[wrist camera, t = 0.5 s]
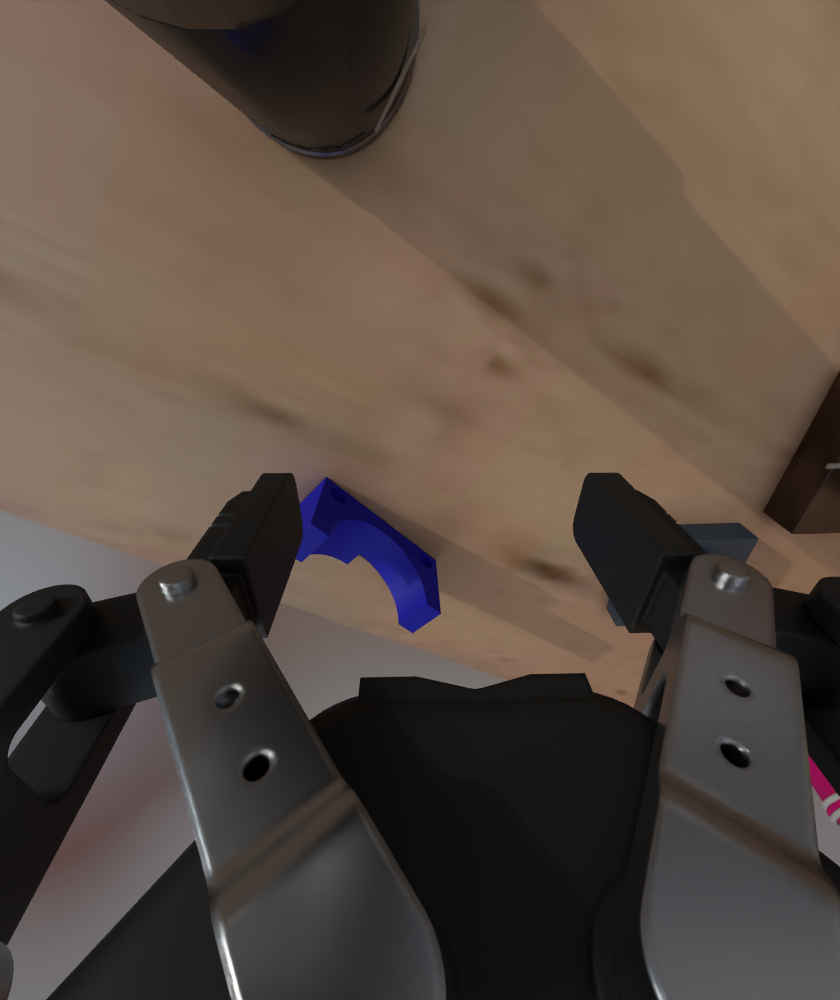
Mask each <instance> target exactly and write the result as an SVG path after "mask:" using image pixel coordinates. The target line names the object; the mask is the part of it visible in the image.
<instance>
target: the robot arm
mask: <svg viewBox="0 0 840 1000" xmlns="http://www.w3.org/2000/svg"><path fill="white" fill-rule="evenodd" d="M105 1H106V2H107V3H108V4H110V5H111V6H112V7H113V8H115V9H116V10H117V11H118V12H120V13H121V14H122V15H123V16H124V17H126V18H127V19H128V20H129V21H131V22H132V23H133V24H134V25H135V26H137V27H138V28H139V29H140V30H142V31H143V32H144V33H145V34H147V35H148V36H149V37H150V38H151V39H153V40H154V41H155V42H156V43H158V44H159V45H160V46H161V47H163V48H164V49H165V50H166V51H167V52H169V53H170V54H171V55H172V56H174V57H175V58H176V59H177V60H179V61H180V62H181V63H182V64H183V65H185V66H186V67H187V68H188V69H190V70H191V71H192V72H193V73H195V74H196V75H197V76H198V77H199V78H201V79H202V80H203V81H204V82H206V83H207V84H208V85H209V86H211V87H212V88H213V89H214V90H215V91H217V92H218V93H219V94H220V95H222V96H223V97H224V98H225V99H227V100H228V101H229V102H230V103H231V104H233V105H234V106H235V107H236V108H238V109H239V110H240V111H241V112H242V113H244V114H245V115H246V116H247V117H248V118H249V119H250V120H251V121H252V122H253V123H254V124H255V125H256V126H257V127H258V128H259V129H260V130H261V131H262V132H264V133H265V134H266V135H267V136H269V137H270V138H271V139H273V140H274V141H275V142H277V143H278V144H280V145H281V146H283V147H285V148H287V149H288V150H290V151H293V152H295V153H297V154H300V155H303V156H307V157H311V158H317V159H336V158H341V157H345V156H348V155H351V154H354V153H356V152H358V151H360V150H362V149H363V148H365V147H367V146H368V145H370V144H371V143H372V142H373V141H374V140H376V139H377V138H378V137H379V136H380V135H381V134H382V133H383V132H384V131H385V129H386V128H387V127H388V126H389V124H390V123H391V122H392V120H393V118H394V117H395V115H396V114H397V112H398V110H399V108H400V106H401V104H402V102H403V100H404V98H405V95H406V93H407V90H408V87H409V84H410V81H411V78H412V74H413V69H414V65H415V59H416V53H417V50H418V47H419V45H420V43H421V41H422V39H423V37H424V35H425V32H426V23H425V26H424V28H423V30H422V32H421V34H420V36H419V38H418V33H419V0H105ZM426 22H427V21H426ZM573 533H574V538H575V541H576V543H577V544H578V546H579V548H580V550H581V551H582V553H583V555H584V556H585V558H586V560H587V562H588V563H589V565H590V567H591V568H592V570H593V572H594V573H595V575H596V577H597V579H598V580H599V582H600V584H601V585H602V587H603V589H604V591H605V592H606V594H607V596H608V597H609V599H610V601H611V602H612V604H613V606H614V608H615V609H616V611H617V613H618V614H619V616H620V618H621V620H622V621H623V623H624V625H625V626H626V628H627V630H628V631H629V633H652V635H653V636H654V640H653V642H652V644H651V646H650V649H649V652H648V656H647V660H646V663H645V667H644V671H643V675H642V678H641V682H640V686H639V690H638V693H637V697H636V701H635V705H634V708H632V707H630V706H629V705H627V704H625V703H622V702H620V701H618V700H615V699H613V698H610V697H607V696H604V695H601V694H598V693H594V692H593V691H592V689H591V686H590V684H589V682H588V679H587V677H586V675H585V673H570V674H530V675H526V676H523V677H519V678H516V679H512V680H508V681H505V682H502V683H498V684H495V685H491V686H487V687H484V688H479V689H471V688H466V687H461V686H457V685H453V684H448V683H443V682H439V681H434V680H430V679H425V678H421V677H368V678H367V677H366V678H360V687H359V696H357V697H353V698H350V699H347V700H345V701H342V702H340V703H337V704H335V705H333V706H331V707H330V708H328V709H326V710H324V711H322V712H321V713H319V714H318V715H316V716H315V717H313V718H312V719H311V720H309V719H308V717H307V716H306V714H305V712H304V710H303V709H302V707H301V705H300V704H299V702H298V700H297V698H296V697H295V695H294V693H293V691H292V689H291V688H290V686H289V684H288V682H287V681H286V679H285V677H284V675H283V674H282V672H281V670H280V669H279V667H278V665H277V663H276V662H275V660H274V658H273V656H272V655H271V653H270V651H269V649H268V648H267V646H266V644H265V643H264V641H263V639H262V638H267V637H268V634H269V632H270V629H271V626H272V623H273V621H274V617H275V615H276V612H277V609H278V607H279V604H280V601H281V598H282V595H283V593H284V590H285V587H286V584H287V581H288V579H289V576H290V573H291V570H292V568H293V565H294V562H295V559H296V556H297V554H298V551H299V548H300V545H301V542H302V536H303V522H302V516H301V510H300V504H299V499H298V493H297V487H296V482H295V478H294V476H293V474H292V473H263V474H262V475H261V476H260V478H259V479H258V481H257V482H256V484H255V485H254V487H253V489H252V490H251V491H243V492H241V493H240V494H238V495H237V496H235V497H234V498H232V499H231V500H229V501H228V502H227V503H226V505H225V506H224V508H223V509H222V510H221V512H220V513H219V516H217V517H216V519H215V520H214V522H213V523H212V527H209V529H208V530H207V531H206V533H205V534H204V536H203V537H202V538H201V540H200V541H199V543H198V544H197V545H196V547H195V548H194V550H193V551H192V552H191V554H190V555H189V557H188V558H187V559H186V560H182V561H177V562H174V563H171V564H168V565H166V566H164V567H162V568H160V569H158V570H156V571H155V572H153V573H152V574H151V575H149V576H148V577H147V578H146V579H145V580H144V581H143V582H142V583H141V584H140V586H139V588H138V590H137V592H136V593H133V594H128V595H124V596H119V597H115V598H110V599H106V600H101V601H97V602H92V601H91V599H90V597H89V596H88V594H87V592H86V591H85V589H83V588H82V587H80V586H77V585H57V586H52V587H48V588H44V589H41V590H38V591H35V592H32V593H30V594H28V595H25V596H23V597H21V598H20V599H18V600H16V601H15V602H13V603H11V604H9V605H8V606H7V607H5V608H4V609H2V610H1V611H0V1000H7V999H8V996H9V992H10V989H11V985H12V980H13V972H14V969H13V968H14V967H13V958H12V955H11V951H10V950H9V948H8V947H7V944H8V943H9V941H10V939H11V937H12V935H13V933H14V931H15V929H16V927H17V926H18V923H19V922H20V920H21V918H22V916H23V914H24V913H25V910H26V909H27V907H28V905H29V903H30V901H31V899H32V898H33V896H34V894H35V892H36V890H37V888H38V886H39V884H40V883H41V881H42V879H43V877H44V875H45V873H46V871H47V869H48V868H49V866H50V864H51V862H52V860H53V858H54V856H55V854H56V852H57V851H58V849H59V847H60V845H61V843H62V841H63V839H64V838H65V836H66V834H67V832H68V830H69V828H70V826H71V824H72V823H73V821H74V819H75V817H76V815H77V813H78V811H79V809H80V808H81V806H82V804H83V802H84V800H85V798H86V796H87V794H88V793H89V791H90V789H91V787H92V785H93V783H94V781H95V779H96V778H97V776H98V774H99V772H100V770H101V768H102V766H103V764H104V763H105V761H106V758H107V757H108V755H109V753H110V751H111V749H112V747H113V746H114V744H115V742H116V740H117V738H118V736H119V734H120V732H121V730H122V729H123V727H124V725H125V723H126V721H127V719H128V717H129V715H130V714H131V712H132V710H133V708H134V706H135V704H136V703H137V702H141V701H144V700H147V699H151V698H154V697H157V698H158V701H159V705H160V709H161V713H162V716H163V720H164V724H165V728H166V731H167V735H168V739H169V743H170V746H171V750H172V754H173V758H174V761H175V765H176V769H177V772H178V776H179V780H180V784H181V788H182V791H183V795H184V799H185V802H186V806H187V810H188V814H189V818H190V821H191V825H192V829H193V832H194V836H195V841H194V842H193V843H192V844H191V845H190V846H189V847H188V848H187V849H186V850H185V851H184V852H183V853H182V855H180V857H179V858H178V859H177V860H176V861H175V862H174V863H173V864H172V865H171V866H170V867H169V868H168V869H167V871H166V872H165V873H164V874H163V875H162V876H161V877H160V878H159V879H158V880H157V881H156V882H155V884H153V886H152V887H151V888H150V889H149V890H148V891H147V892H146V893H145V894H144V895H143V896H142V897H141V898H140V899H139V901H138V902H137V903H136V904H135V905H134V906H133V907H132V908H131V909H130V910H129V911H128V912H127V913H126V915H125V916H124V917H123V918H122V919H121V920H120V921H119V922H118V923H117V924H116V925H115V926H114V927H113V929H112V930H111V931H110V932H109V933H108V934H107V935H106V936H105V937H104V938H103V939H102V940H101V941H100V942H99V943H98V945H97V946H96V947H95V948H94V949H93V950H92V951H91V952H90V953H89V954H88V955H87V956H86V957H85V959H84V960H83V961H82V962H81V963H80V964H79V965H78V966H77V967H76V968H75V969H74V970H73V972H71V974H70V975H69V976H68V977H67V978H66V979H65V980H64V981H63V982H62V983H61V984H60V985H59V986H58V987H57V989H56V990H55V991H54V992H53V993H52V994H51V995H50V996H49V997H48V998H47V999H46V1000H840V867H839V866H838V865H837V864H836V863H834V862H833V861H832V860H830V859H829V858H828V857H827V856H825V855H824V854H823V853H821V852H820V851H819V850H818V841H817V833H816V822H815V813H814V804H813V795H812V785H811V776H810V767H809V758H808V755H809V756H810V758H811V759H812V760H813V762H814V763H815V764H816V766H817V767H818V769H819V770H820V771H821V773H822V774H823V775H824V777H825V778H826V779H827V781H828V782H829V783H830V785H831V786H832V787H833V789H834V790H835V791H836V793H837V794H838V795H839V797H840V577H825V578H822V579H820V580H819V581H818V583H817V584H816V585H815V587H814V588H813V590H812V591H811V592H810V594H804V593H798V592H793V591H788V590H783V589H778V588H773V587H772V585H771V583H770V582H769V581H768V579H767V578H766V577H765V576H764V575H763V574H761V573H760V572H759V571H757V570H756V569H754V568H753V567H751V566H749V565H747V564H746V563H743V562H741V561H739V560H736V559H733V558H730V557H727V556H723V555H717V554H708V553H707V552H706V551H705V550H704V549H703V548H702V547H701V546H700V545H699V544H698V543H697V542H696V541H695V540H694V539H693V538H692V537H691V536H690V535H689V534H688V533H687V532H686V531H685V530H684V529H683V528H682V527H681V526H680V525H679V524H676V521H675V520H674V519H673V518H672V517H671V516H670V515H669V514H666V511H665V510H664V509H663V508H662V507H661V506H660V505H659V504H658V503H657V502H656V501H655V500H654V499H652V498H650V497H648V496H647V495H645V494H643V493H641V492H640V491H638V490H635V489H634V488H633V487H632V486H631V485H630V484H629V483H628V482H627V481H626V480H625V479H624V478H623V477H622V475H620V474H619V473H589V474H587V476H586V477H585V479H584V482H583V486H582V490H581V494H580V497H579V501H578V505H577V509H576V513H575V517H574V521H573ZM40 700H42V701H43V702H44V703H45V705H46V707H45V708H44V710H43V711H42V712H41V714H40V715H39V716H38V718H37V719H36V720H35V722H34V723H33V725H32V726H31V727H30V729H29V730H28V732H27V733H26V734H25V736H24V737H23V738H22V740H21V741H20V742H19V744H18V745H17V747H16V748H15V750H14V751H13V752H12V754H11V755H10V756H9V758H8V750H9V746H10V744H11V741H12V739H13V737H14V735H15V734H16V732H17V731H18V729H19V728H20V727H21V725H22V724H23V723H24V721H25V720H26V719H27V717H28V716H29V715H30V713H31V712H32V710H33V709H34V708H35V706H36V705H37V704H38V703H39V701H40Z"/></svg>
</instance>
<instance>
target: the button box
mask: <svg viewBox="0 0 840 1000" xmlns="http://www.w3.org/2000/svg"><path fill="white" fill-rule="evenodd" d="M680 526H681V527H682V528H683V529H684V530H685V531H686V532H687V533H688V534H689V535H690V536H691V537H692V538H693V539H694V540H695V541H696V542H697V543H698V544H699V545H700V546H701V547H702V548H703V549H704V550H705V551H706V552H707V553H708V554H717V555H723V556H727V557H730V558H733V559H736V560H739V561H741V562H743V563H745V562H746V560H747V559H748V557H749V555H750V553H751V551H752V550H753V548H754V546H755V544H756V543H757V541H758V538H757V537H756V536H754V535H753V534H752V533H751V532H750V531H748V530H747V529H746V528H745V527H744V526H742V525H741V524H740V523H729V524H691V525H680ZM607 610H608V612H609V614H610V616H611V617H612V619H613V621H614V623H615V625H616V626H625V625H624V623H623V621H622V620H621V618H620V616H619V614H618V613H617V611H616V609H615V608H614V606H613V604H612V602H611V601H610V600H609V603H608V606H607Z"/></svg>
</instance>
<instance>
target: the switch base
mask: <svg viewBox="0 0 840 1000" xmlns="http://www.w3.org/2000/svg"><path fill="white" fill-rule="evenodd" d="M764 513H765V514H766V515H767V516H769V517H770V518H771V519H773V520H774V521H775V522H777V523H778V524H779V525H781V526H782V527H783V528H785V529H786V530H787V531H789V532H790V533H791V534H814V533H840V373H839V375H838V377H837V379H836V381H835V382H834V384H833V386H832V388H831V390H830V391H829V393H828V395H827V397H826V399H825V401H824V402H823V404H822V406H821V408H820V410H819V412H818V413H817V415H816V417H815V419H814V421H813V423H812V424H811V426H810V428H809V430H808V432H807V434H806V435H805V437H804V439H803V441H802V443H801V445H800V446H799V448H798V450H797V452H796V454H795V456H794V457H793V459H792V461H791V463H790V465H789V466H788V468H787V470H786V472H785V474H784V476H783V477H782V479H781V481H780V483H779V485H778V487H777V488H776V490H775V492H774V494H773V496H772V498H771V499H770V501H769V503H768V505H767V507H766V509H765V510H764Z"/></svg>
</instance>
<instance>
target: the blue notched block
mask: <svg viewBox="0 0 840 1000" xmlns="http://www.w3.org/2000/svg"><path fill="white" fill-rule="evenodd" d="M300 510H301V516H302V522H303V536H302V542H301V545H300V548H299V551H298V554H297V556H296V559H297V560H299V561H300V562H302V561H303V560H304V559H305V558H307V557H308V556H309V555H310V554H323V555H328V556H332V557H334V558H337V559H339V560H341V561H343V562H344V563H346V564H348V563H350V562H351V561H352V560H353V559H354V558H355V557H357V556H358V555H359V554H360V555H361V556H362V557H364V558H365V559H366V560H367V561H368V562H369V563H370V564H371V565H372V566H373V567H374V568H375V569H376V570H377V571H378V572H379V574H380V575H381V576H382V578H383V579H384V581H385V582H386V584H387V585H388V587H389V589H390V591H391V593H392V596H393V598H394V601H395V604H396V607H397V612H398V619H399V625H401V626H402V627H404V628H406V629H407V630H409V631H410V632H412V633H414V632H415V631H416V630H418V629H419V628H421V627H422V626H424V625H425V624H427V623H428V622H429V621H431V620H432V619H434V618H435V617H437V616H438V615H440V614H441V611H440V600H439V589H438V579H437V568H436V560H435V559H433V558H432V557H431V556H429V555H428V554H427V553H425V552H424V551H423V550H421V549H420V548H419V547H418V546H416V545H415V544H414V543H412V542H411V541H410V540H408V539H407V538H406V537H404V536H403V535H402V534H400V533H399V532H398V531H397V530H395V529H394V528H393V527H391V526H390V525H389V524H387V523H386V522H385V521H383V520H382V519H381V518H380V517H378V516H377V515H376V514H374V513H373V512H372V511H370V510H369V509H368V508H366V507H365V506H364V505H362V504H361V503H360V502H359V501H357V500H356V499H355V498H353V497H352V496H351V495H349V494H348V493H347V492H345V491H344V490H343V489H341V488H340V487H339V486H338V485H336V484H335V483H334V482H332V481H331V480H330V479H328V478H327V477H326V478H325V479H324V480H323V481H322V482H321V483H320V484H319V485H318V486H317V487H316V488H315V489H314V490H313V491H312V492H311V493H310V494H309V495H308V496H307V497H306V498H305V499H304V500H303V501H302V502H301V503H300Z"/></svg>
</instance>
